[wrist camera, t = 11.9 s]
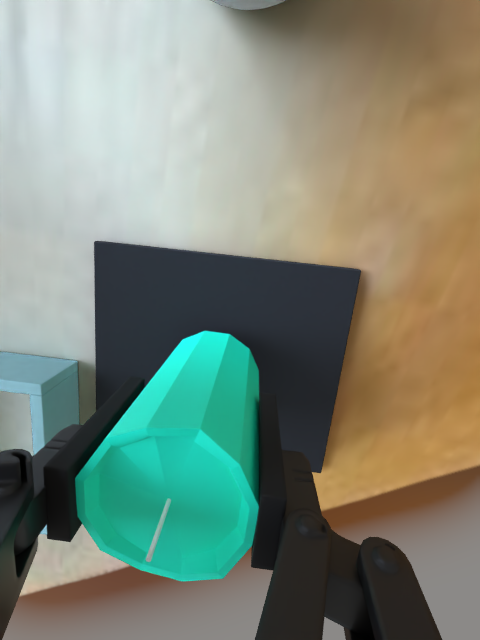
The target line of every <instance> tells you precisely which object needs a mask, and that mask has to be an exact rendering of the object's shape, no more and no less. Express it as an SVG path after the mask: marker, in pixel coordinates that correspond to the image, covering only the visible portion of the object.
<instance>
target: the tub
mask: <svg viewBox="0 0 480 640" xmlns="http://www.w3.org/2000/svg"><path fill="white" fill-rule="evenodd" d="M77 370H78V361H75V360H67V359H58V358H50V357H42V356H34V355H25V354H17V353H9V352H1V351H0V391H7V392H15V393H23V394H30V407H31V421H32V436H33V450H34V455H35V454H36V453H37V452H38V451H39V450H40V449H41V448H44V446H45V445H46V444H47V443H48V442H49V441H51V439H52V438H53V437H54V436H55V435H56V434H57V433H58V432H59V431H60V430H62V429H64V428H66V427H68V426H70V425H72V424H78V425H79V392H78V371H77ZM40 534H46V535H47V525H46V526H45V527H44V529H43V530H42V531H41V533H40Z"/></svg>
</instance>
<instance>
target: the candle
mask: <svg viewBox="0 0 480 640" xmlns="http://www.w3.org/2000/svg"><path fill="white" fill-rule="evenodd" d="M75 487H76V504H77V515H78V518H79V519H80V521H81V522H82V524H83V525H84V527H85V528H86V530H87V531H88V533H89V534H90V536H91V537H92V538H93V540H94V541H95V543H96V544H97V546H98V547H99V549H100V550H101V551H103V552H105V553H107V554H109V555H111V556H113V557H115V558H117V559H119V560H121V561H123V562H125V563H127V564H129V565H131V566H133V567H135V568H137V569H139V570H143V571H146V572H150V573H154V574H157V575H161V576H164V577H168V578H172V579H175V580H179V581H196V580H209V579H223V578H224V577H225V576H226V574H227V573H228V572H229V571H230V570H231V569H232V568H233V567H234V566H235V564H236V563H237V562H238V561H239V560H240V559H241V557H242V556H243V555H244V554H245V553H246V552H247V551H248V550H249V548H250V547H251V546H252V544H253V539H254V533H255V528H256V522H257V516H258V509H259V370H258V367H257V365H256V363H255V360H254V358H253V356H252V353H251V351H250V349H249V348H248V347H246V346H245V345H244V344H242V343H241V342H240V341H238V340H237V339H236V338H234V337H233V336H232V335H230V334H226V333H218V332H211V331H203V332H200V333H198V334H195V335H193V336H190V337H188V338H185V339H183V340H182V341H181V342H180V343H179V345H178V346H177V347H176V348H175V350H174V351H173V352H172V354H171V355H170V356H169V357H168V359H167V360H166V361H165V363H164V364H163V365H162V366H161V368H160V369H159V370H158V371H157V373H156V374H155V375H154V377H153V378H152V379H151V380H150V382H149V383H148V384H147V386H146V387H145V388H144V389H143V391H142V392H141V393H140V394H139V396H138V397H137V398H136V400H135V401H134V402H133V403H132V405H131V406H130V407H129V409H128V410H127V411H126V412H125V414H124V415H123V416H122V417H121V419H120V420H119V421H118V423H117V424H116V425H115V426H114V428H113V429H112V430H111V432H110V433H109V434H108V435H107V437H106V438H105V439H104V441H103V442H102V443H101V445H100V446H99V447H98V449H97V450H96V451H95V452H94V454H93V455H92V456H91V458H90V459H89V460H88V462H87V463H86V464H85V466H84V467H83V468H82V470H81V471H80V472H79V474H78V475H77V476H76V478H75Z"/></svg>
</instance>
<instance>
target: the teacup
mask: <svg viewBox="0 0 480 640" xmlns="http://www.w3.org/2000/svg"><path fill="white" fill-rule="evenodd" d="M211 1H213V2H215V3H217V4H219V5H222V6H226V7H230V8H235V9H240V10H253V9H263V8H267V7H270V6H274V5H277V4H279V3H282V2H284V1H286V0H211Z"/></svg>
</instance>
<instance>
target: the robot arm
mask: <svg viewBox="0 0 480 640" xmlns="http://www.w3.org/2000/svg"><path fill="white" fill-rule="evenodd" d="M144 388H145V378H139V377H131V376H130V377H129V378H128V379H127V380H126V381H125V382H124V383H123V384H122V385H121V386H120V387H119V389H118V390H117V391H116V392H115V393H114V394H113V395H112V396H111V397H110V398H109V399H108V400H107V401H106V402H105V403H104V404H103V405H102V406H101V407H100V408H99V409H98V410H97V411H96V412H95V414H94V415H93V416H92V417H91V418H90V419H89V420H88V421H87V422H86V423H85V424H84V425H78V424H72V425H70V426H68V427H66V428H64V429H62V430H60V431H59V432H58V433H57V434H56V435H55V436H54V437H53V438H52V439H51V441H49V442H48V443H47V444H46V445H45V446H44V448H41V449H40V450H39V451H38V452H37V453H36V454H35V455H34V456H33V457H32V456H31V454H30V452H28V451H26V450H23V449H12V450H6V451H3V452H0V640H2V638H3V635H4V633H5V630H6V628H7V625H8V623H9V620H10V618H11V615H12V613H13V610H14V607H15V605H16V602H17V600H18V597H19V595H20V592H21V590H22V587H23V584H24V582H25V579H26V577H27V574H28V572H29V569H30V567H31V564H32V562H33V559H34V556H35V554H36V551H37V547H38V535H39V534H40V533H41V531H42V530H43V529H44V527H45V526H46V525H47V539H53V540H60V541H67V542H71V540H72V539H73V537H74V535H75V534H76V532H77V531H78V529H79V527H80V526H81V524H82V522H81V521H80V519H79V518H78V515H77V504H76V487H75V478H76V476H77V475H78V474H79V472H80V471H81V470H82V468H83V467H84V466H85V464H86V463H87V462H88V460H89V459H90V458H91V456H92V455H93V454H94V452H95V451H96V450H97V449H98V447H99V446H100V445H101V443H102V442H103V441H104V439H105V438H106V437H107V435H108V434H109V433H110V432H111V430H112V429H113V428H114V426H115V425H116V424H117V423H118V421H119V420H120V419H121V417H122V416H123V415H124V414H125V412H126V411H127V410H128V409H129V407H130V406H131V405H132V403H133V402H134V401H135V400H136V398H137V397H138V396H139V394H140V393H141V392H142V391H143V389H144ZM251 567H253V568H260V569H267V570H273V574H272V577H271V581H270V585H269V589H268V592H267V596H266V600H265V604H264V607H263V611H262V615H261V619H260V623H259V626H258V630H257V634H256V637H255V640H322V635H323V624H324V617H326V618H328V619H330V620H332V621H334V622H336V623H338V624H340V625H341V626H343V627H344V631H345V636H346V640H442V638H441V636H440V633H439V631H438V628H437V626H436V624H435V621H434V619H433V617H432V614H431V612H430V609H429V607H428V604H427V602H426V600H425V597H424V595H423V592H422V590H421V588H420V585H419V583H418V580H417V578H416V576H415V573H414V571H413V569H412V566H411V564H410V562H409V560H408V559H407V557H406V555H405V554H404V553H403V552H402V551H401V550H400V549H399V548H398V547H397V546H395V545H394V544H392V543H391V542H389V541H388V540H385V539H382V538H379V537H369V538H367V539H365V540H363V542H362V544H361V545H359V544H357V543H354V542H352V541H350V540H347V539H345V538H343V537H341V536H339V535H338V534H337V533H335V532H334V531H333V530H332V529H331V527H330V526H329V524H328V522H327V520H326V519H325V518H324V517H323V516H322V514H321V509H320V505H319V501H318V496H317V492H316V488H315V483H314V479H313V475H312V470H311V466H310V462H309V460H308V459H307V458H306V456H305V455H304V454H303V452H296V451H288V450H282V447H281V438H280V429H279V420H278V411H277V401H276V394H270V393H262V392H261V393H260V400H259V509H258V516H257V522H256V528H255V533H254V539H253V544H252V560H251Z"/></svg>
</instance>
